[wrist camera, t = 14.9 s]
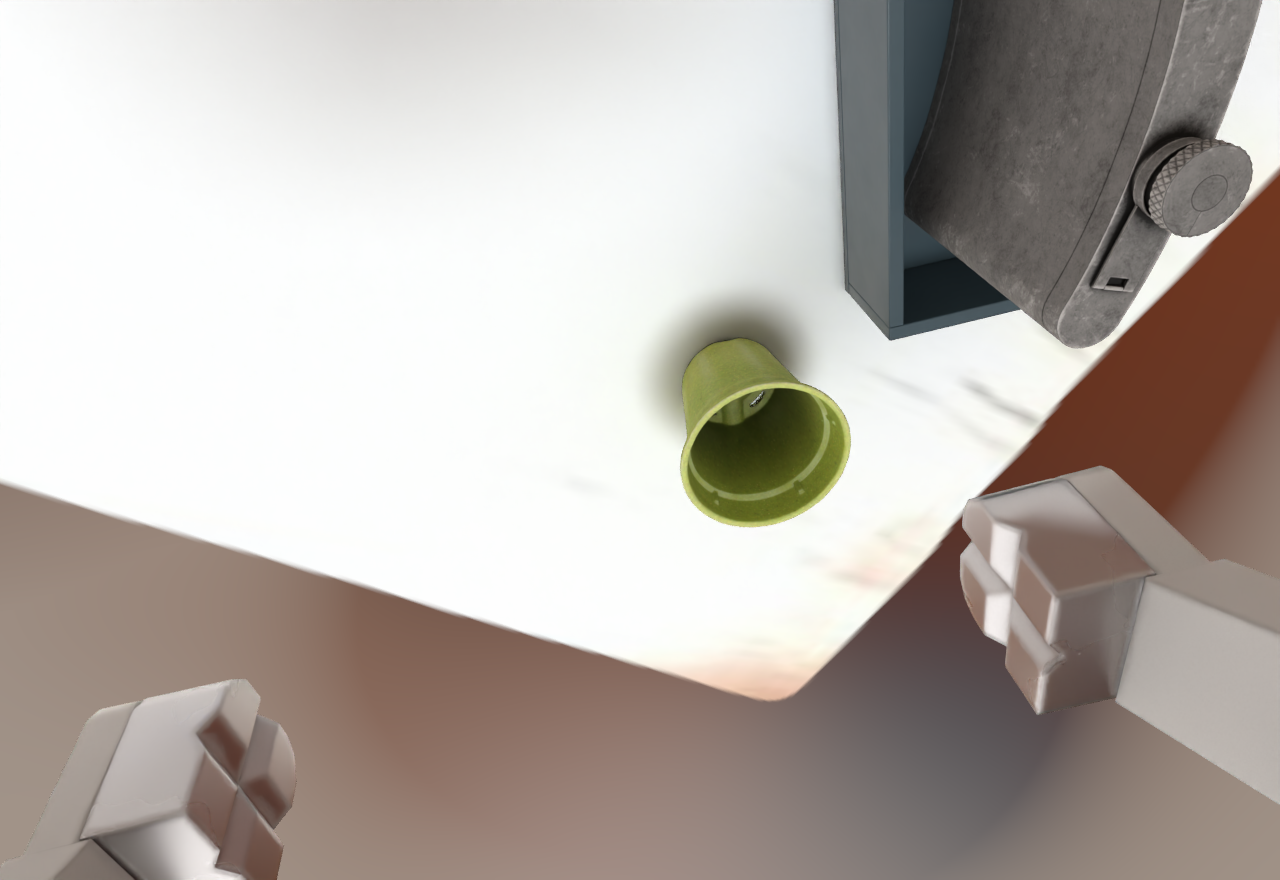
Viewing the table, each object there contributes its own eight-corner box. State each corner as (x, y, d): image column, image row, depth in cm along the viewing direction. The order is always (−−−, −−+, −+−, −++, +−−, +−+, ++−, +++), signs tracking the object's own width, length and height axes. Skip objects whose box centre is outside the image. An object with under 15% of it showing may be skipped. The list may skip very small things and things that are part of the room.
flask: (1038, -75, 40) (1366, -43, 25) (951, 219, 48) (1162, 375, 33) (967, -82, 39) (1261, -53, 24) (891, 217, 47) (1079, 376, 32)
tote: (827, -146, 37) (886, -148, 32) (1098, -207, 38) (1201, -219, 32) (845, 290, 50) (889, 341, 44) (1048, 242, 50) (1116, 287, 45)
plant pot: (624, 404, 52) (646, 489, 45) (715, 283, 48) (755, 353, 41) (739, 463, 56) (776, 549, 49) (831, 354, 52) (886, 430, 45)
